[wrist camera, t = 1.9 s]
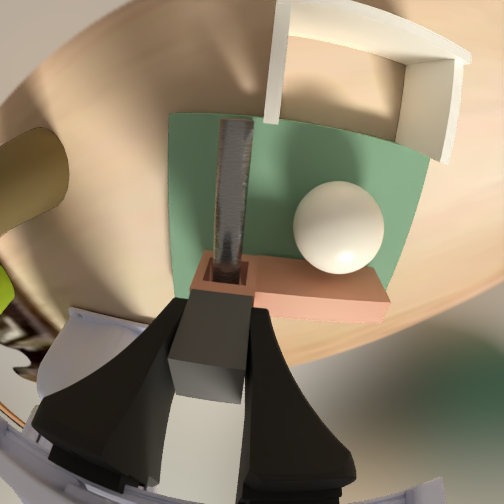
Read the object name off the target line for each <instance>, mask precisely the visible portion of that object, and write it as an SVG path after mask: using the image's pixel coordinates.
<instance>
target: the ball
mask: <svg viewBox="0 0 504 504" xmlns="http://www.w3.org/2000/svg"><path fill="white" fill-rule="evenodd" d="M293 232H294V238H295V241H296V244H297V247H298V249H299V251H300V252H301V254H302V255H303V256H304V258H305V259H306V260H307V261H308V262H309V263H310V264H312V265H313V266H314V267H316V268H318V269H320V270H322V271H324V272H328V273H333V274H346V273H351V272H354V271H357V270H359V269H361V268H363V267H364V266H365V265H367V264H368V263H369V262H370V261H371V260H372V259H373V258H374V257H375V255H376V254H377V252H378V250H379V249H380V246H381V244H382V240H383V236H384V221H383V216H382V213H381V210H380V208H379V206H378V204H377V202H376V201H375V200H374V198H373V197H372V196H371V195H370V194H369V193H368V192H367V191H366V190H364V189H363V188H361V187H359V186H358V185H355V184H353V183H349V182H345V181H332V182H327V183H324V184H321V185H319V186H317V187H315V188H313V189H312V190H311V191H310V192H308V193H307V194H306V195H305V196H304V198H303V199H302V200H301V202H300V203H299V205H298V207H297V210H296V212H295V216H294V222H293Z"/></svg>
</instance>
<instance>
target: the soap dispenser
mask: <svg viewBox="0 0 504 504" xmlns="http://www.w3.org/2000/svg"><path fill="white" fill-rule="evenodd" d="M13 298H14V288H13V285H12V283H11V280H10V278H9V277H8V275H7V273H6V272H5V270H4V269H3V267H2V266H1V265H0V314H1V313H2V312H3V310H4V309H5V308H6V307H7V306H8V304H9V303H10V302H11V301H12V300H13Z"/></svg>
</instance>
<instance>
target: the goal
mask: <svg viewBox="0 0 504 504" xmlns="http://www.w3.org/2000/svg"><path fill="white" fill-rule="evenodd" d="M288 35H291V36H298V37H304V38H310V39H315V40H321V41H326V42H330V43H335V44H339V45H343V46H347V47H351V48H355V49H359V50H362V51H366V52H369V53H372V54H375V55H378V56H382V57H385V58H387V59H390V60H393V61H396V62H399V63H401V64H404V65H406V70H405V80H404V88H403V96H402V103H401V110H400V116H399V122H398V128H397V133H396V139H395V142H396V143H398V144H400V145H403V146H405V147H408V148H410V149H412V150H414V151H417V152H419V153H421V154H423V155H425V156H428V157H430V158H432V159H434V160H436V161H438V162H440V163H443V164H446V165H448V166H449V162H450V158H451V153H452V149H453V144H454V139H455V134H456V128H457V122H458V116H459V109H460V101H461V93H462V82H463V67H464V64H471V53H470V52H468V51H467V50H465V49H464V48H462V47H460V46H459V45H457V44H455V43H453V42H452V41H450V40H448V39H446V38H444V37H442V36H441V35H439V34H437V33H435V32H433V31H431V30H429V29H427V28H424V27H422V26H420V25H418V24H416V23H414V22H411V21H409V20H407V19H404V18H402V17H399V16H397V15H394V14H391V13H389V12H386V11H383V10H380V9H378V8H375V7H371V6H368V5H365V4H362V3H358V2H355V1H351V0H276V9H275V18H274V27H273V36H272V45H271V54H270V63H269V73H268V82H267V91H266V100H265V110H264V119H263V123H268V124H276V125H278V123H279V115H280V106H281V97H282V89H283V80H284V71H285V62H286V53H287V43H288Z"/></svg>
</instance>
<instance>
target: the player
mask: <svg viewBox="0 0 504 504" xmlns="http://www.w3.org/2000/svg"><path fill="white" fill-rule="evenodd" d="M189 290H190V295H189V298H188V300H187V303H186V306H185V309H184V312H183V314H182V317H181V320H180V323H179V326H178V329H177V332H176V334H175V337H174V340H173V343H172V346H171V349H170V352H169V355H168V363H169V367H170V371H171V375H172V380H173V384H174V388H175V391H176V395H181V396H186V397H192V398H198V399H204V400H210V401H218V402H226V403H233V404H241V398H242V391H243V384H244V377H245V370H246V360H247V349H248V338H249V327H250V316H251V307H257V308H266V309H268V310H269V314H270V317H277V318H289V319H301V320H315V321H331V322H351V323H379V324H380V323H381V322H382V320H383V318H384V316H385V314H386V312H387V310H388V308H389V306H390V304H391V302H390V300H389V297H388V295H387V293H386V291H385V289H384V287H383V285H382V283H381V281H380V279H379V277H378V275H377V273H376V271H375V269H374V267H363V268H361V269H359V270H357V271H354V272H351V273H346V274H333V273H328V272H324V271H322V270H320V269H318V268H316V267H314V266H313V265H312V264H310V263H309V262H308V261H307V260H300V259H291V258H282V257H273V256H264V255H258V256H255V255H246V254H242V261H241V272H240V284H239V285H235V284H227V283H218V282H213V251H210V250H204V252H203V255H202V257H201V260H200V262H199V265H198V267H197V270H196V272H195V275H194V278H193V280H192V283H191V285H190V288H189Z"/></svg>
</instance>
